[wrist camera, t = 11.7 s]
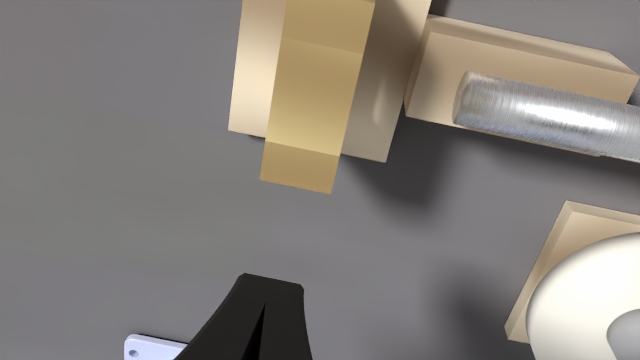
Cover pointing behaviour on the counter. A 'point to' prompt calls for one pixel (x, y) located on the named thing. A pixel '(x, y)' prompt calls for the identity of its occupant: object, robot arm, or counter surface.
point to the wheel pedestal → (568, 250)
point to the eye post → (380, 77)
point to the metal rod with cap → (548, 115)
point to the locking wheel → (589, 304)
